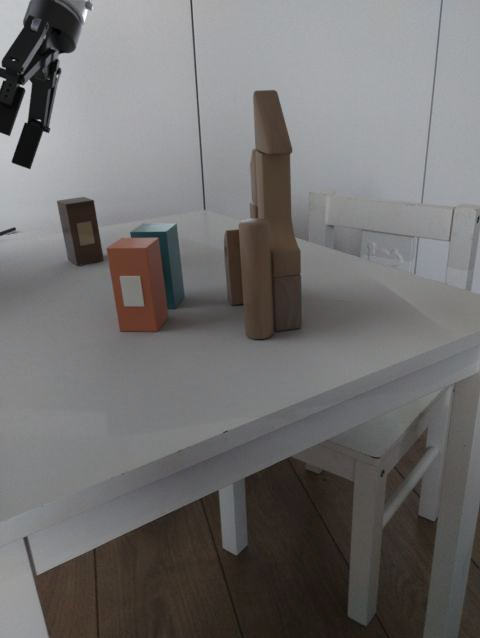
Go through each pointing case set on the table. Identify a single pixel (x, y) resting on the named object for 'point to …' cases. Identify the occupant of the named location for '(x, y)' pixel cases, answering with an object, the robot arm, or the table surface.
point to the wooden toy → (266, 232)
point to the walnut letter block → (80, 230)
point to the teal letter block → (166, 258)
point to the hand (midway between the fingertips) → (10, 150)
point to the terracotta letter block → (138, 284)
